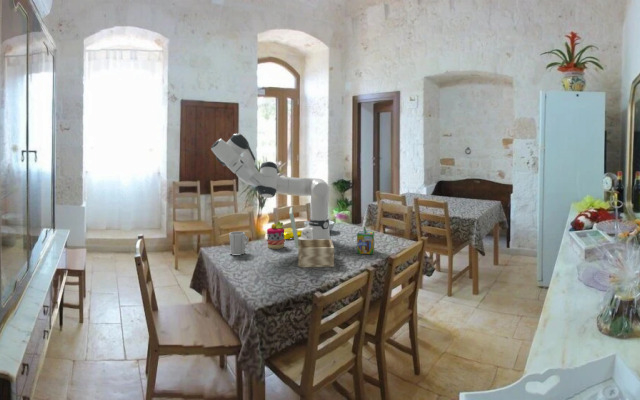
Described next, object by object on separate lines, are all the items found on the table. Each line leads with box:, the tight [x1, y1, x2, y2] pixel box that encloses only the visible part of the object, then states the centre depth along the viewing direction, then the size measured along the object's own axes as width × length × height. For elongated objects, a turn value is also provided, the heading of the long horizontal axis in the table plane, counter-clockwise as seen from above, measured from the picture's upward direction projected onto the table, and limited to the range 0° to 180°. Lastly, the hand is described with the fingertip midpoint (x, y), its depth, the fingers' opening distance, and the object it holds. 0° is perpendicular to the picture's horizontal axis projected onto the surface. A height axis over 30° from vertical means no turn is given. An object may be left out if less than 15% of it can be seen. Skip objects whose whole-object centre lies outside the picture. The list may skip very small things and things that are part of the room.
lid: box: [288, 206, 298, 249], centre depth 243 cm, size 18×20×1 cm
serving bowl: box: [303, 220, 335, 232], centre depth 322 cm, size 21×21×7 cm
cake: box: [266, 221, 286, 250], centre depth 278 cm, size 10×11×15 cm
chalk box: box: [356, 226, 375, 255], centre depth 264 cm, size 9×9×15 cm
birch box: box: [297, 238, 335, 268], centre depth 245 cm, size 18×20×10 cm
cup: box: [228, 231, 249, 255], centre depth 263 cm, size 10×9×12 cm
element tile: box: [283, 227, 303, 240], centre depth 308 cm, size 15×15×5 cm
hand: (257, 184), depth 239 cm, fingers closed
